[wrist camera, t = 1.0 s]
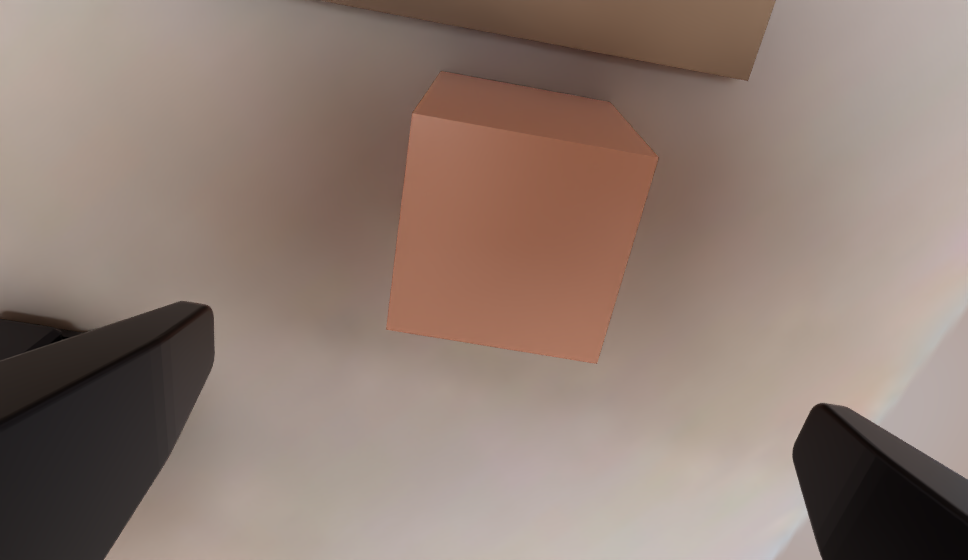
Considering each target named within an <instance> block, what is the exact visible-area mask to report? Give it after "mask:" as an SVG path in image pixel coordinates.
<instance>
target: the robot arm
mask: <svg viewBox="0 0 968 560" xmlns="http://www.w3.org/2000/svg"><path fill="white" fill-rule="evenodd" d="M214 355H215V350H214V316H213V311H212V309H211V308H210V307H209V306H208V305H205V304H199V303H193V302H187V301H180V302H176V303H173V304H170V305H167V306H164V307H161V308H158V309H155V310H152V311H149V312H146V313H143V314H140V315H137V316H134V317H131V318H128V319H125V320H122V321H119V322H116V323H113V324H110V325H107V326H104V327H101V328H98V329H95V330H92V331H89V332H86V333H81V332H74V331H68V330H62V329H56V328H53V327H48V326H41V325H35V324H29V323H22V322H16V321H10V320H4V319H0V560H104V559H105V557H106V555H107V554H108V552H109V551H110V549H111V548H112V546H113V544H114V543H115V541H116V540H117V538H118V537H119V535H120V533H121V532H122V530H123V529H124V527H125V526H126V524H127V523H128V521H129V519H130V518H131V516H132V515H133V513H134V512H135V510H136V508H137V507H138V505H139V504H140V502H141V501H142V499H143V497H144V496H145V494H146V493H147V491H148V490H149V488H150V486H151V485H152V483H153V482H154V480H155V479H156V477H157V475H158V474H159V472H160V471H161V469H162V467H163V466H164V464H165V462H166V461H167V459H168V457H169V455H170V454H171V452H172V450H173V448H174V446H175V444H176V442H177V440H178V438H179V436H180V434H181V432H182V429H183V427H184V425H185V423H186V421H187V419H188V417H189V415H190V413H191V411H192V409H193V407H194V405H195V402H196V400H197V398H198V396H199V394H200V392H201V390H202V388H203V386H204V384H205V382H206V380H207V378H208V375H209V373H210V371H211V369H212V366H213V362H214ZM792 455H793V463H794V466H795V470H796V473H797V477H798V480H799V484H800V487H801V491H802V494H803V497H804V501H805V504H806V508H807V511H808V515H809V518H810V522H811V525H812V529H813V532H814V536H815V539H816V542H817V545H818V549H819V552H820V555H821V557H822V560H968V479H965V478H964V477H963V476H961V475H959V474H958V473H956V472H954V471H952V470H951V469H949V468H948V467H945V466H944V465H943V464H941V463H939V462H938V461H936V460H934V459H933V458H931V457H929V456H927V455H926V454H924V453H923V452H921V451H919V450H918V449H916V448H914V447H913V446H911V445H909V444H908V443H906V442H904V441H903V440H901V439H899V438H898V437H896V436H894V435H893V434H891V433H889V432H888V431H886V430H885V429H883V428H881V427H880V426H878V425H876V424H875V423H873V422H871V421H870V420H868V419H866V418H865V417H863V416H861V415H860V414H858V413H856V412H855V411H853V410H851V409H850V408H848V407H844V406H840V405H833V404H827V403H819V404H817V405H815V406H814V407H813V408H812V410H811V411H810V413H809V415H808V417H807V419H806V421H805V423H804V425H803V427H802V429H801V431H800V433H799V435H798V437H797V439H796V441H795V444H794V447H793V454H792Z"/></svg>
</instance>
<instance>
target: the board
mask: <svg viewBox="0 0 968 560" xmlns="http://www.w3.org/2000/svg"><path fill="white" fill-rule="evenodd" d="M320 1H325V2H331V3H336V4H341V5H347V6H352V7H357V8H363V9H368V10H373V11H379V12H384V13H389V14H395V15H400V16H405V17H411V18H416V19H421V20H427V21H432V22H437V23H442V24H448V25H453V26H458V27H464V28H469V29H474V30H480V31H485V32H490V33H496V34H501V35H506V36H512V37H517V38H522V39H528V40H533V41H538V42H544V43H549V44H554V45H560V46H565V47H570V48H576V49H581V50H586V51H592V52H597V53H602V54H608V55H613V56H618V57H623V58H629V59H634V60H639V61H645V62H650V63H655V64H661V65H666V66H671V67H677V68H682V69H687V70H693V71H698V72H703V73H709V74H714V75H719V76H725V77H730V78H735V79H741V80H746V81H748V79H749V76H750V73H751V71H752V68H753V65H754V62H755V59H756V56H757V53H758V50H759V47H760V44H761V42H762V39H763V36H764V33H765V30H766V27H767V24H768V21H769V18H770V16H771V13H772V10H773V7H774V4H775V1H776V0H320Z"/></svg>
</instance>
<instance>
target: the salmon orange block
mask: <svg viewBox="0 0 968 560" xmlns="http://www.w3.org/2000/svg"><path fill="white" fill-rule="evenodd" d="M658 159H659V157H658V156H657V155H656V154H655V153H654V152H653V151H652V149H651V148H650V147H649V146H648V145H647V144H646V143H645V141H644V140H643V139H642V138H641V137H640V136H639V135H638V133H637V132H636V131H635V130H634V129H633V128H632V127H631V125H630V124H629V123H628V122H627V121H626V120H625V119H624V117H623V116H622V115H621V114H620V113H619V112H618V111H617V109H616V108H615V107H614V106H613V105H612V104H611V103H610V102H607V101H602V100H597V99H591V98H586V97H580V96H575V95H569V94H564V93H559V92H553V91H548V90H542V89H537V88H531V87H526V86H520V85H515V84H510V83H504V82H499V81H493V80H488V79H482V78H477V77H472V76H466V75H461V74H455V73H450V72H444V71H441V72H440V73H439V75H438V76H437V78H436V79H435V80H434V82H433V83H432V85H431V86H430V88H429V89H428V91H427V92H426V94H425V95H424V97H423V98H422V100H421V101H420V102H419V104H418V105H417V107H416V108H415V110H414V111H413V113H412V119H411V127H410V135H409V144H408V152H407V160H406V169H405V177H404V185H403V194H402V202H401V210H400V218H399V227H398V235H397V243H396V252H395V260H394V268H393V277H392V285H391V293H390V302H389V310H388V318H387V327H386V330H392V331H398V332H405V333H411V334H417V335H423V336H429V337H435V338H441V339H448V340H454V341H460V342H466V343H472V344H478V345H485V346H491V347H497V348H503V349H509V350H515V351H522V352H528V353H534V354H540V355H546V356H552V357H558V358H565V359H571V360H577V361H583V362H589V363H595V364H597V362H598V358H599V355H600V352H601V348H602V345H603V342H604V338H605V335H606V332H607V329H608V325H609V322H610V319H611V315H612V312H613V309H614V305H615V302H616V299H617V295H618V292H619V289H620V285H621V282H622V279H623V275H624V272H625V269H626V265H627V262H628V259H629V255H630V252H631V249H632V245H633V242H634V239H635V235H636V232H637V229H638V225H639V222H640V219H641V215H642V212H643V209H644V205H645V202H646V199H647V195H648V192H649V189H650V185H651V182H652V179H653V175H654V172H655V169H656V165H657V162H658Z"/></svg>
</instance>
